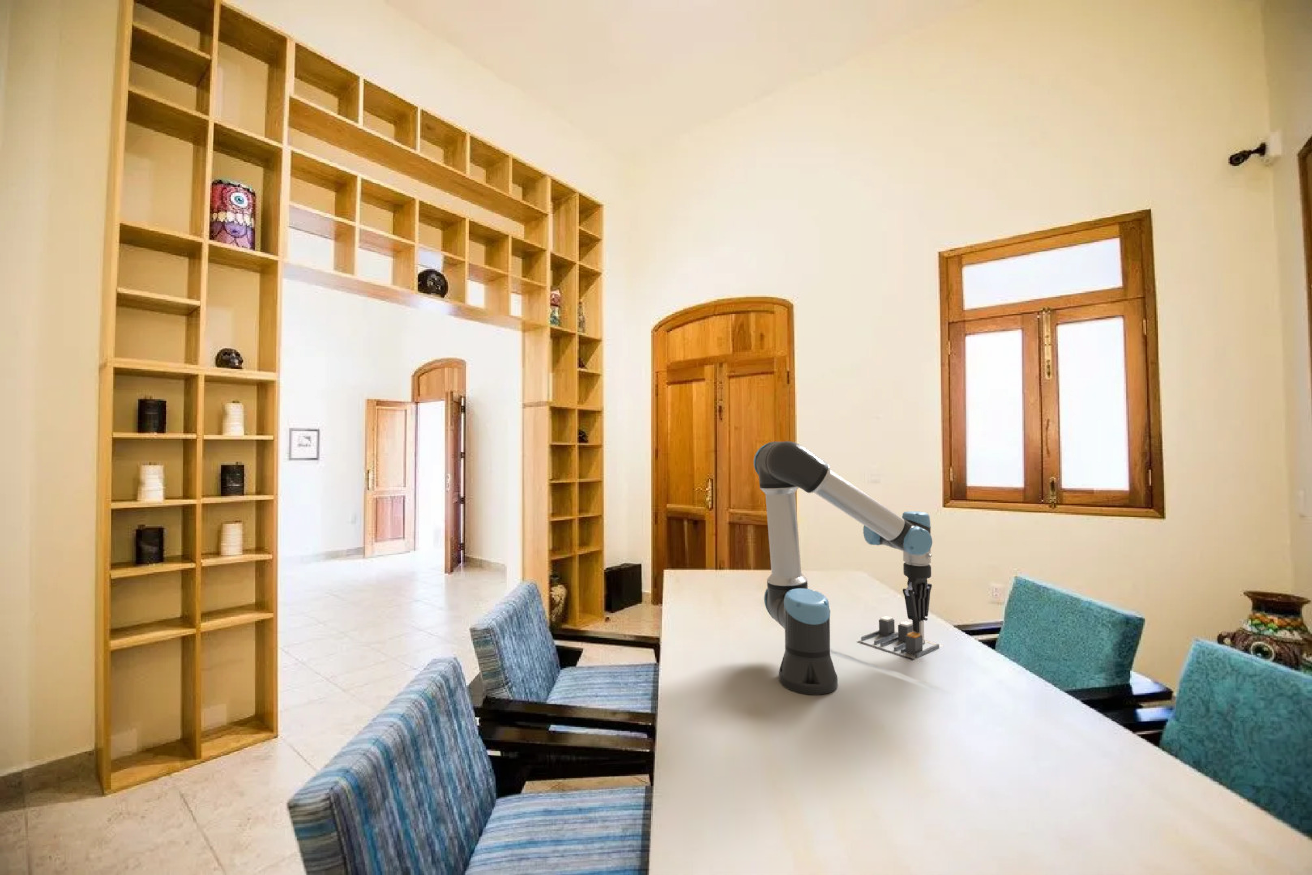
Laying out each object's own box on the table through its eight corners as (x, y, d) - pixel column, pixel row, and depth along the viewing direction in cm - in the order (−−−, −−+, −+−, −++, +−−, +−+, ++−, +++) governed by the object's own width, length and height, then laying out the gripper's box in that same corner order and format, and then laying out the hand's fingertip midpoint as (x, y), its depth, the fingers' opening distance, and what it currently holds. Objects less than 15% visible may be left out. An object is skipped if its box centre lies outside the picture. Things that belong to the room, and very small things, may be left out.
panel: (908, 668, 148) (908, 660, 148) (846, 647, 164) (846, 640, 164) (953, 647, 163) (952, 640, 163) (891, 630, 180) (891, 623, 180)
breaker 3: (915, 655, 154) (915, 636, 154) (905, 652, 157) (905, 633, 157) (922, 652, 157) (922, 633, 157) (912, 649, 159) (912, 631, 159)
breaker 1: (887, 637, 169) (887, 620, 169) (879, 635, 172) (878, 617, 172) (894, 635, 171) (894, 617, 172) (886, 632, 174) (885, 615, 174)
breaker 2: (907, 643, 164) (907, 625, 164) (898, 640, 166) (898, 623, 166) (914, 640, 166) (913, 623, 166) (905, 638, 169) (904, 620, 169)
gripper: (918, 568, 152) (919, 650, 151) (940, 562, 160) (941, 640, 159) (893, 563, 158) (894, 643, 158) (915, 558, 166) (917, 633, 165)
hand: (918, 641), depth 158 cm, fingers closed
